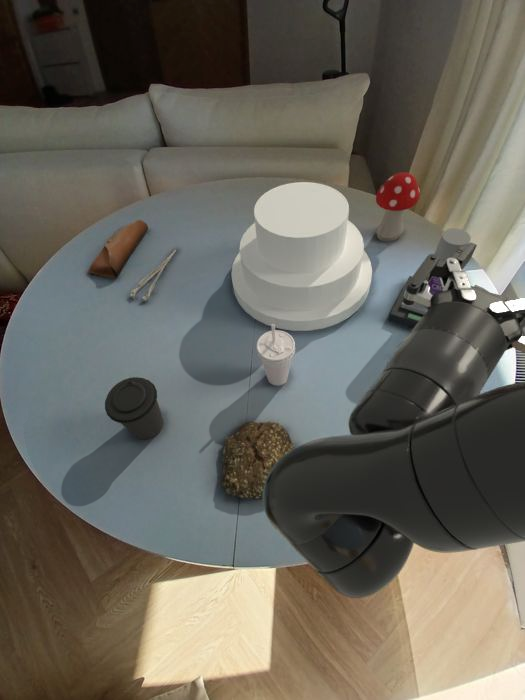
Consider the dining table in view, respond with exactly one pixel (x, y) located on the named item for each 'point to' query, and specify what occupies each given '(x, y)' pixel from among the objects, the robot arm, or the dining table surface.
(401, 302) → the scale
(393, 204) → the decorative mushroom
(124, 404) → the coffee cup
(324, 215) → the cake
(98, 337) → the dining table surface
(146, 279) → the jawbone
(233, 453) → the bread roll
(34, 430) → the dining table surface
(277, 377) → the smoothie
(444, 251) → the container
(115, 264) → the sunglasses case
